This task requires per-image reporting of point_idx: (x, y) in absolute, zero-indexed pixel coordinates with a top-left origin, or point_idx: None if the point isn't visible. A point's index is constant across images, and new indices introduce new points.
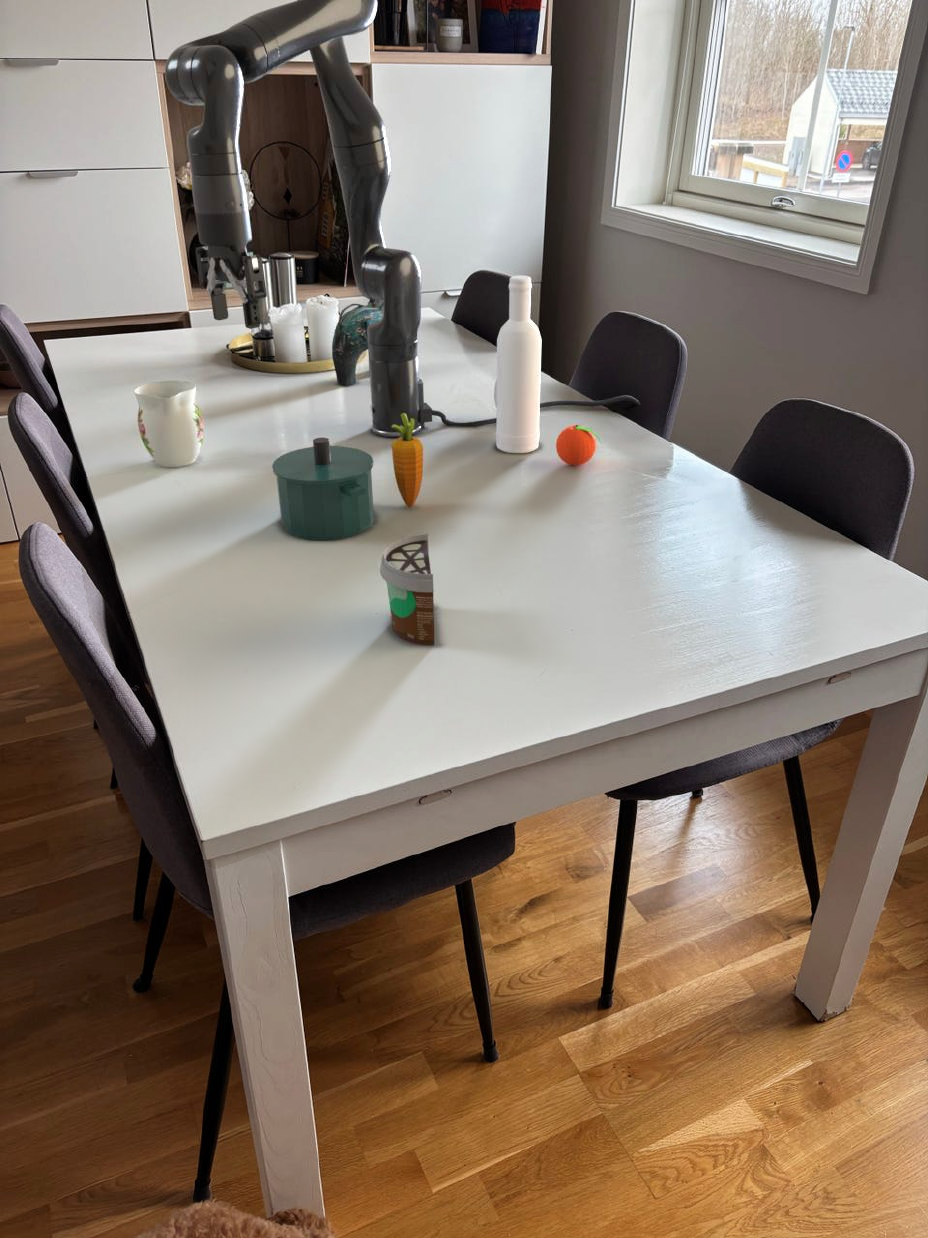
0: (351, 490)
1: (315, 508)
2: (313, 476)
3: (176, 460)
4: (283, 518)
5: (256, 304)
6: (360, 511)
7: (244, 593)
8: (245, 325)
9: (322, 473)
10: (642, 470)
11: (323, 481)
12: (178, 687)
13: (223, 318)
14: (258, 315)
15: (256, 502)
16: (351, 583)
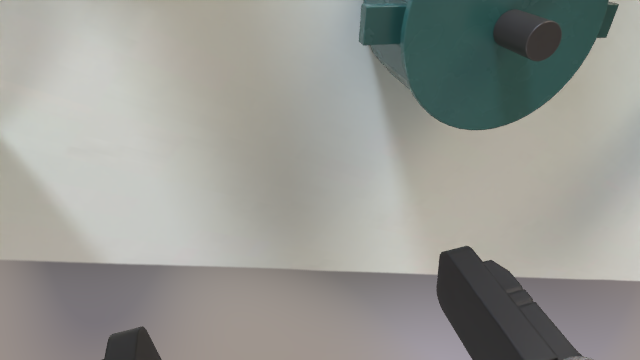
0: (604, 34)
1: None
2: (544, 83)
3: None
4: None
5: (570, 356)
6: None
7: (511, 189)
8: (444, 309)
9: (547, 61)
10: None
11: (570, 78)
12: (576, 270)
13: (151, 346)
14: (524, 296)
15: (279, 67)
16: (598, 83)
